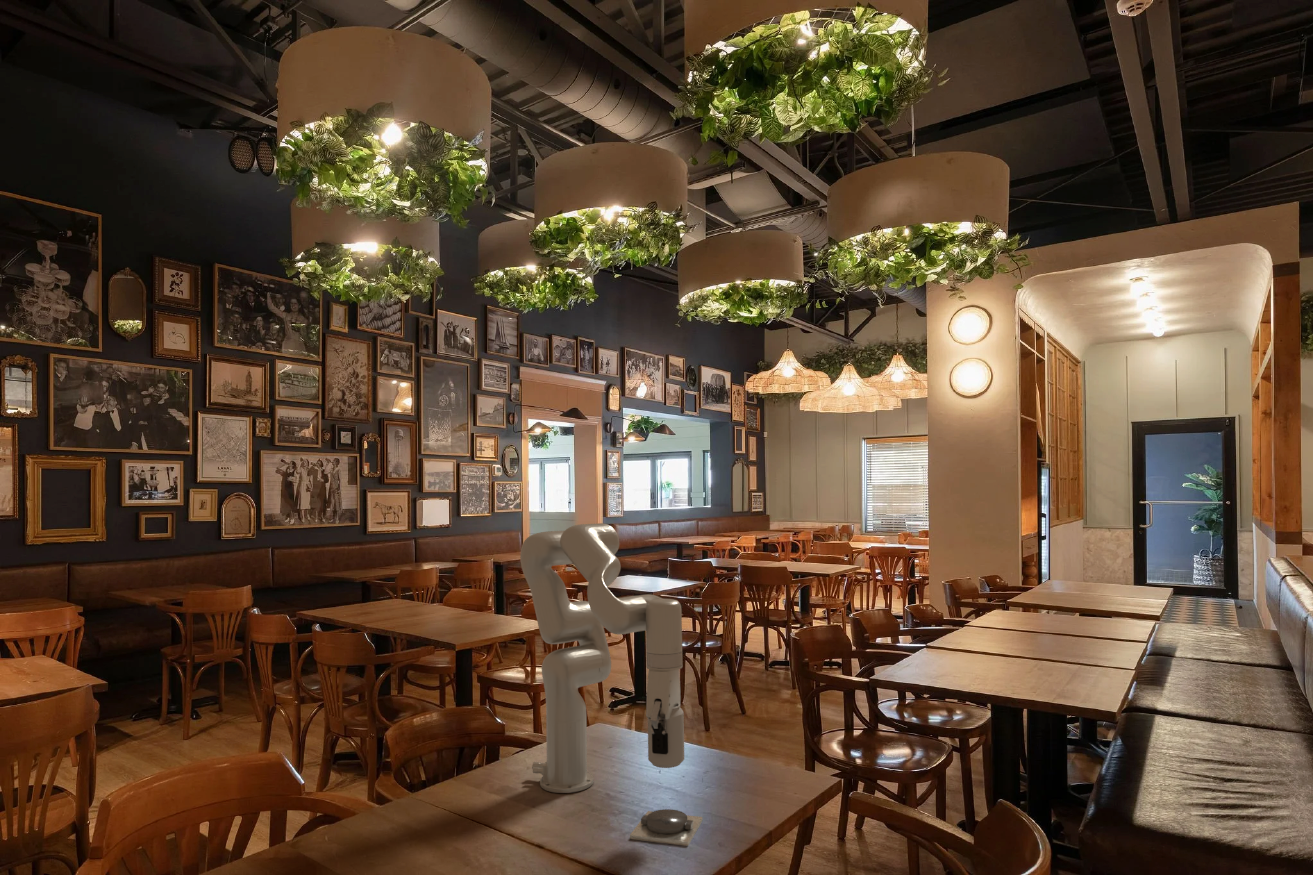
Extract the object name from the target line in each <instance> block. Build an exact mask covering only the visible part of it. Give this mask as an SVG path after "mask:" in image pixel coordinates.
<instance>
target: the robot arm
mask: <svg viewBox="0 0 1313 875" xmlns="http://www.w3.org/2000/svg"><path fill="white" fill-rule="evenodd" d="M619 548H620V538H619V534H618V532H617V531H616V530H615V528H613V526H611V525H609V524H608V523H603V522H602V523H601V522H600V523H585V524H584V523H582V524H575V525H571V526H569V527H568V528H566V529H565V530H552V531H540V532H536V533H533V534H530V535H529V536H528V537H527V538H525V540H524V541H523V542H522V544H521V549H520V556H519V558H520V567H521V570H522V572H523V576H524V579H525V580H526V583H527V585H528V587H529V590H530V594H531V598H532V603H533V608H534V611H535V616H536V620H537V626H538V630H539V634H540V636H541V639H542V641H544V642H545V643H546V644H549V645H559V644H567V643H571V642H578V643H579V645H575V646H569V647H564V648H560V649H559V648H558V649H555V650H553V651H552V652H550V653H548V654H547V655H546V656H545V657H544V659H543V661H542V664H541V678H542V682H543V688H544V694H545V712H546V714H545V718H546V722H545V723H546V761H545V762H541V761H540V762H539V761H533V762H532V765H531V769H532V773H533V774H540V775H542V777H541V778H540V781H539V784H540V788H542V789H543V790H545V791H547V792H549V793H550V792H551V793H557V794H569V793H570V794H572V793H577V792H580V791H581V792H582V791H584V790H586V789H587V790H588V789H589V788H590V787H591V786H592V785H593V784H594V776H593V774H592V773H591V772H589V771H588V762H587V760H588V759H587V757H588V754H587V752H588V747H587V743H588V742H587V741H588V740H587V739H588V738H587V736H588V735H587V733H588V732H587V706H586V703H585V701H584V698H583V697H582V696H581V694H580V693H579V688H582V687H585V686H586V687H587V686H590V685H593V684H597V683H598V684H599V683H602V682H604V681H606V680H607V679H608V677H609V676H610V674H611V672H612V657H611V654H610V648H609V644H608V639H607V636H606V632H605V629H606V630H607V631H608V632H609V633H611V634H614V635H626V634H627V635H628V634H632V633H637V632H638V633H639V632H644V631H645V649H646V650H645V653H646V656H645V659H646V662H645V666H646V669H647V670H648V673H647V683H646V706H645V707H646V708H645V710H646V718H647V720H648V719H651V723H652V725H651V727H652V752H653V753H655V754H667V753H668V733H666V729H667V720H669V719H670V718H671V714H672V712H673V708H674V707H677V706H678V703H679V704H680V705H681V680H680V677H681V676H680V675H681V674H680V669H681V670H682V669H683V626H682V625H683V624H682V623H683V621H682V620H683V619H682V616H683V615H682V605H681V603H680V602H679V601H678V600H677V599H673V598H662V597H660V596H657V595H656V594H655V595H654V594H648V593H647V594H640V595H630V596H624V597H616V596H615V595H614V594H613V592H611V590H610V589H609V588H608V587H610V585H612V584H613V583H614V582H615V581H616V579H617V578H618V577H619V574H620V572H621V570H622V568H621V561H620V559H619V558H618V557H617V556H616V554H617V553H618V550H619ZM564 565H573V566H574V567H575V568H576V570H578V572H579V573H580V574H581V575H582V576H583V578H584V579H585V580H586V581H587V583H588V585H587V590H586V592H587V593H586V594H587V595H586V596H587V600H578V601H570V599H569V596H568V593H567V587H566V585H565V582H564V581H563V578H561V577H560V575H559V574H558V573H557V572H556V571H555V570H554V569H553V568H552V567H553V566H564ZM660 714H665V717H659V715H660ZM659 721H663V727H662V724H661V723H659Z"/></svg>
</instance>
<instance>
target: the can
mask: <svg viewBox="0 0 1313 875" xmlns="http://www.w3.org/2000/svg"><path fill="white" fill-rule="evenodd" d="M684 716H685V714H684V710H683V708H681V703H680V704H679V703H678V706H677V707H674V708H673V712H672V714H671V718H670V719H669V720H667V729H666V733H668V753H667V754H655V753H653V752H652V727H651V725H652V723H651V719H648V718H647V751H648V753H647V754H648V755H647V756H648V761H649V762H650V764H652V766H653V767H657V768H661V769H670V768H671V769H672V768H675V767H679V766H680V765H681V763H683V762H684V761H685V731H684V730H685V724H684V723H685V721H684V720H685V718H684ZM659 717H665V714H660V715H659ZM659 723H661V724H662V727H663V721H659Z"/></svg>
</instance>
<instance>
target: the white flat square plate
mask: <svg viewBox="0 0 1313 875" xmlns="http://www.w3.org/2000/svg"><path fill="white" fill-rule="evenodd" d="M702 822H703V816H699V815H697V816H696V815H688V814H686V813H684V812H683V811H680V810H678V809H671V808H670V809H667V808H666V809H657V810H654V811H652V810H648V811H647V812H646V813H645V814H644V815H642V817H641V818H640V821H639V822H638V824H637V825H636V826H635V828H634V829H633V831H632V832H631V833H630V834H629V839H630V840H635V841H643V842H650V843H651V842H652V843H659V844H669V845H674V846H684V847H689V845H690V844H691V842H692V840H693V839H694V837H695V835H696V833H697V831H698V830H699V828H700V826H701V824H702Z"/></svg>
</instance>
